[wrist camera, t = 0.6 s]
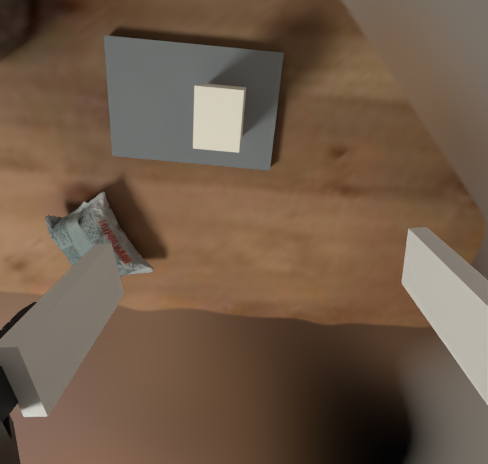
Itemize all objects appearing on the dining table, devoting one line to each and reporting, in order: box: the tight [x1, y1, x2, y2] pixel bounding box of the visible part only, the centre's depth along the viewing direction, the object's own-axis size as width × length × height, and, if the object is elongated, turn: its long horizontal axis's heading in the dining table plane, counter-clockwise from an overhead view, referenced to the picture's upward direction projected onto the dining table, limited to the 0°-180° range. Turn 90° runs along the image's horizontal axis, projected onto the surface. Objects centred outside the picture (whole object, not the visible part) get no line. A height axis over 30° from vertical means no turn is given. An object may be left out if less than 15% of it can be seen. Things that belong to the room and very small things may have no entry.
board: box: [104, 35, 284, 170], centre depth 37 cm, size 18×12×1 cm, turn 85°
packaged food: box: [45, 192, 154, 277], centre depth 43 cm, size 9×12×5 cm
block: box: [193, 84, 246, 153], centre depth 33 cm, size 4×5×9 cm
